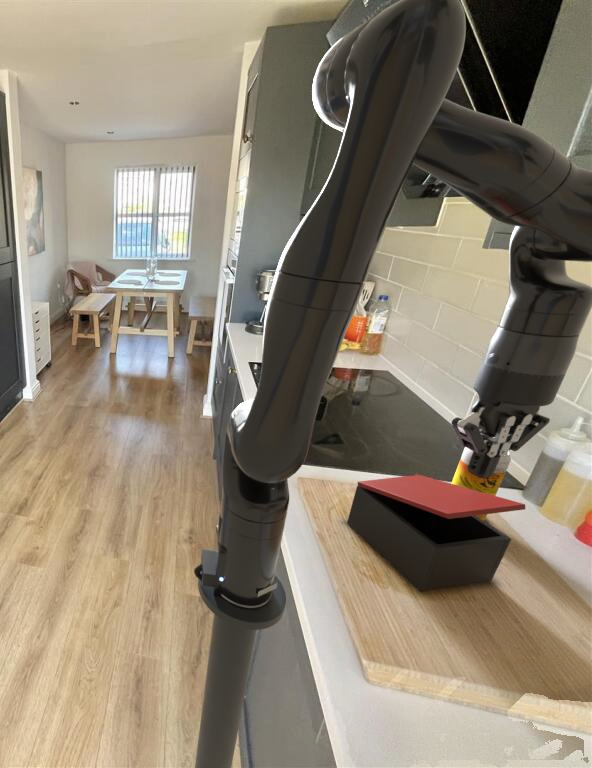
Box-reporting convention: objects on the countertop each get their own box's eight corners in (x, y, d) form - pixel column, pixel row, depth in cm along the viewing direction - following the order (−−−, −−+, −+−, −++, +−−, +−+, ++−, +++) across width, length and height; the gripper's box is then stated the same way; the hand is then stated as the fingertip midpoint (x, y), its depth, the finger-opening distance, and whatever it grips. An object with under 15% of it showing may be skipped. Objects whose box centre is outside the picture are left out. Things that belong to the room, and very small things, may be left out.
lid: (525, 509, 58) (525, 504, 58) (448, 519, 57) (448, 513, 57) (419, 478, 74) (419, 474, 74) (357, 485, 73) (357, 481, 73)
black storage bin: (491, 581, 63) (511, 538, 60) (420, 591, 62) (436, 548, 59) (405, 516, 78) (418, 478, 75) (346, 523, 77) (356, 485, 73)
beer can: (456, 524, 75) (483, 456, 70) (434, 503, 81) (458, 439, 75) (492, 526, 74) (523, 458, 69) (468, 505, 80) (494, 440, 74)
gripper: (510, 377, 48) (464, 495, 54) (605, 368, 49) (549, 485, 55) (449, 358, 55) (415, 464, 61) (534, 351, 56) (491, 456, 62)
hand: (479, 474), depth 58 cm, fingers closed
